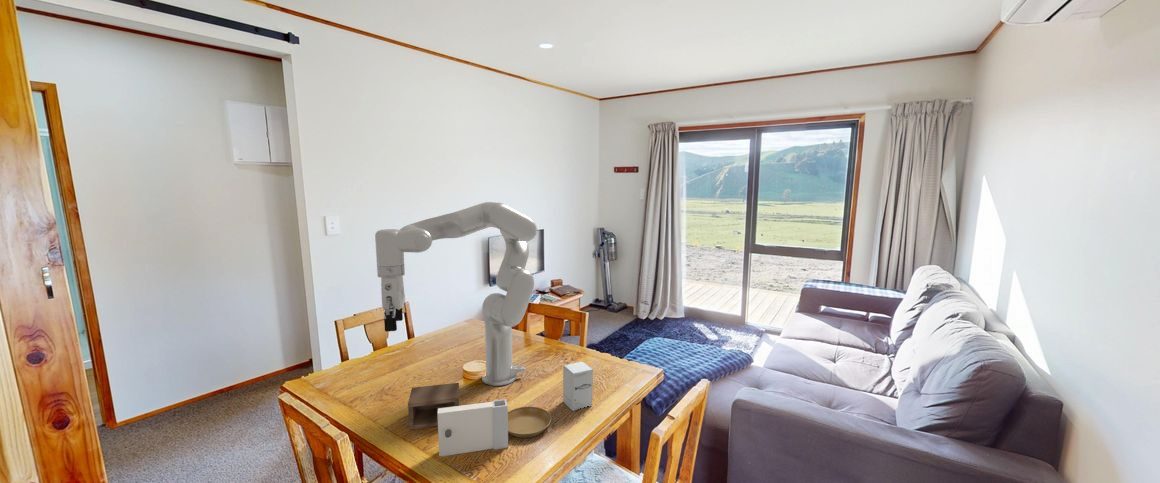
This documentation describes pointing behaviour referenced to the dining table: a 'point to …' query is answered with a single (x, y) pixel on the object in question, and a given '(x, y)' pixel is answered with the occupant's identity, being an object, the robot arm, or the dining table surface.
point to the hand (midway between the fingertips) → (394, 325)
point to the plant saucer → (527, 421)
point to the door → (473, 427)
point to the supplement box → (577, 385)
